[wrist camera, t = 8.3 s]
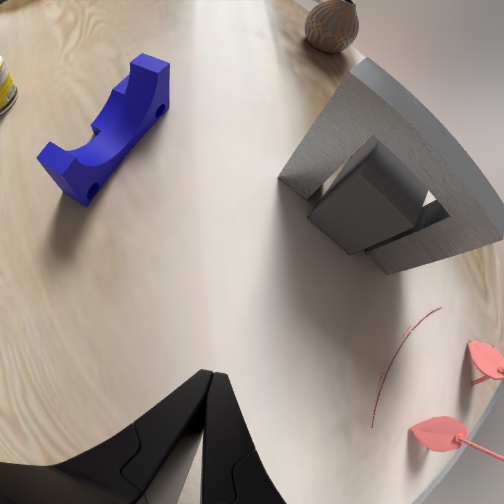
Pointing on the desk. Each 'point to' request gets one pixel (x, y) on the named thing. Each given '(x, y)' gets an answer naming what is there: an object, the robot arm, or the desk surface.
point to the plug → (369, 199)
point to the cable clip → (112, 130)
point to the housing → (413, 157)
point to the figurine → (449, 429)
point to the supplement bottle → (6, 88)
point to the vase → (332, 25)
